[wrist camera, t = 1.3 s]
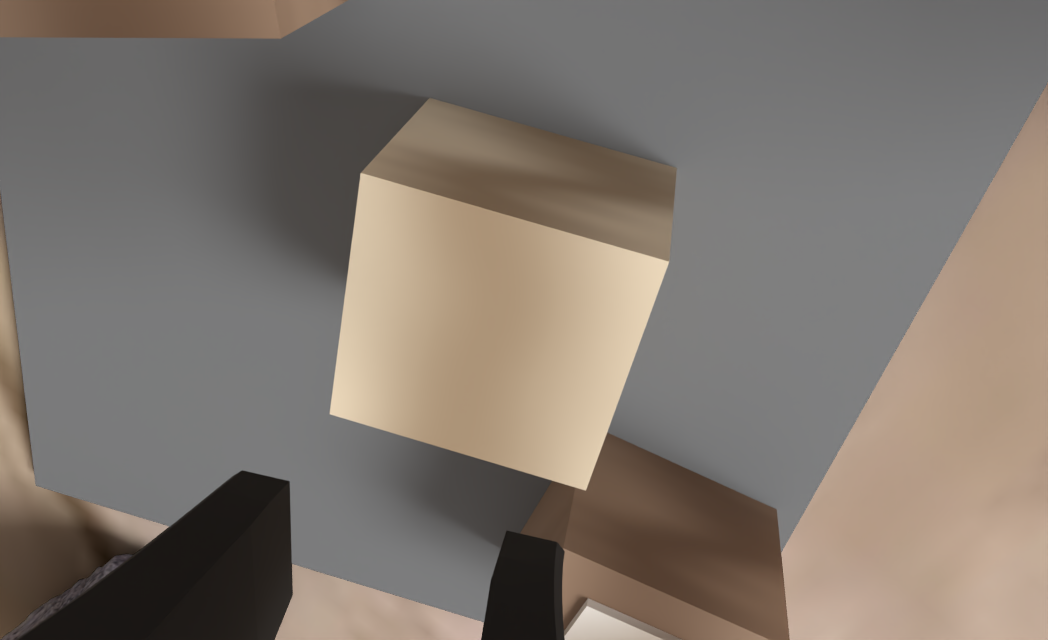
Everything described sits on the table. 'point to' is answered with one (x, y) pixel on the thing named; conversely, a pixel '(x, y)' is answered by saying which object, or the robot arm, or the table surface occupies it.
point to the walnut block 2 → (662, 553)
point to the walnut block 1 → (158, 18)
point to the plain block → (500, 289)
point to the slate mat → (527, 98)
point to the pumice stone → (65, 598)
